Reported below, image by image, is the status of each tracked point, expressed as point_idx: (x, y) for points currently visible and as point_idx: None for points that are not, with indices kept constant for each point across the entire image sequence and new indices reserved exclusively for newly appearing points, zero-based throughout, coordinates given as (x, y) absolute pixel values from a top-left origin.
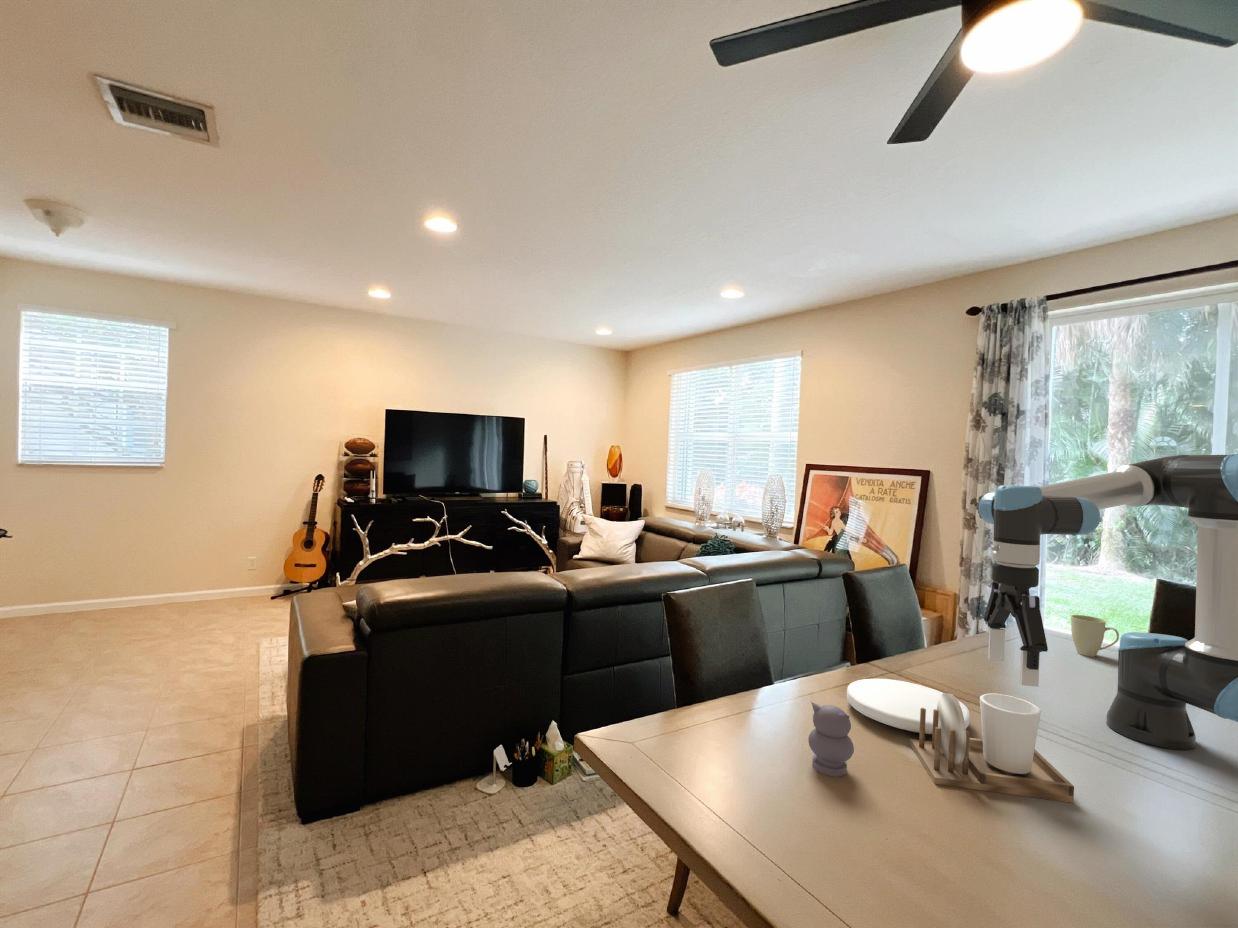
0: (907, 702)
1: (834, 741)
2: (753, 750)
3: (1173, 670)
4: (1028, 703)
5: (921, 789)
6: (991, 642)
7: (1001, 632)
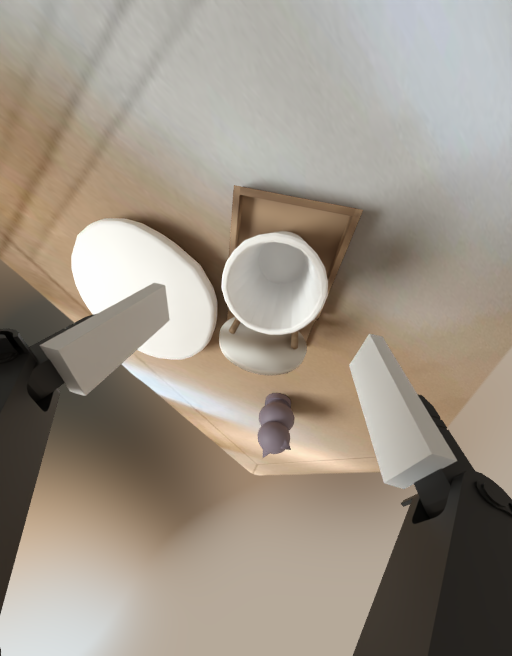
0: (170, 324)
1: (288, 429)
2: (258, 427)
3: None
4: (264, 242)
5: (311, 360)
6: (131, 350)
7: (80, 353)
